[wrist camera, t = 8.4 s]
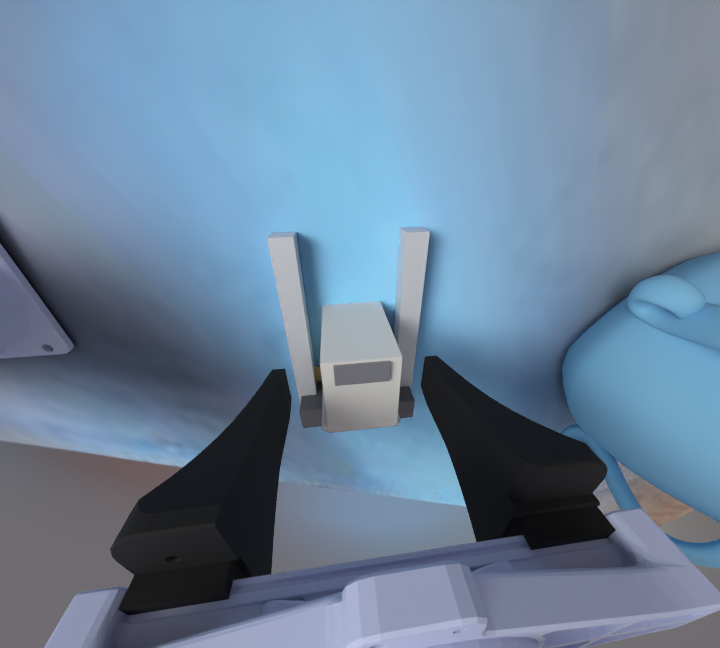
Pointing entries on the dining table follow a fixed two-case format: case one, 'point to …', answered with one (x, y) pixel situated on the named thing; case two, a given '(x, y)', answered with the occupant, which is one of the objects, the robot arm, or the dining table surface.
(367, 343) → the plug block
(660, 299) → the decorative pot
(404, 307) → the socket
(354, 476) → the dining table surface
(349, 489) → the dining table surface
